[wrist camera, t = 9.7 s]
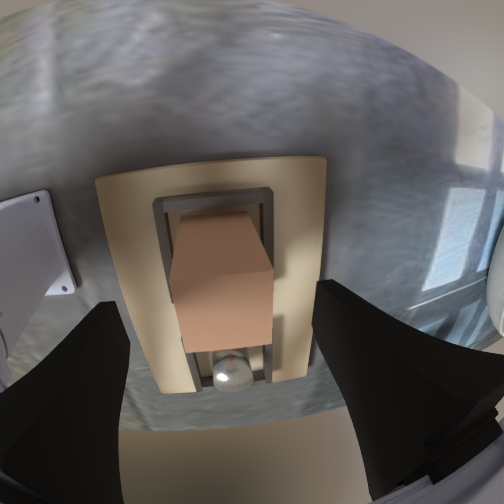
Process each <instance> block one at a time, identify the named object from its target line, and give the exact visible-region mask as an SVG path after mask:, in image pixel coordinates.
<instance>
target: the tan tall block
mask: <svg viewBox="0 0 504 504" xmlns="http://www.w3.org/2000/svg"><path fill="white" fill-rule="evenodd" d="M169 283H170V288H171V293H172V297H173V302H174V307H175V311H176V316H177V320H178V324H179V328H180V333H181V337H182V341H183V345H184V349H185V352H186V353H193V352H205V351H216V350H226V349H235V348H244V347H252V346H259V345H267V344H272V325H273V288H274V269H273V267H272V265H271V263H270V260H269V258H268V256H267V254H266V251H265V249H264V247H263V245H262V242H261V240H260V238H259V236H258V233H257V231H256V229H255V227H254V224H253V222H252V220H251V218H250V215H249V213H248V211H238V212H226V213H214V214H203V215H192V216H182V217H181V218H180V223H179V228H178V233H177V238H176V243H175V248H174V254H173V259H172V265H171V271H170V277H169Z"/></svg>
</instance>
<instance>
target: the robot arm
mask: <svg viewBox="0 0 504 504" xmlns="http://www.w3.org/2000/svg"><path fill="white" fill-rule="evenodd" d="M37 196H38V197H39V199H40V201H37ZM64 286H65V287H66V288H67V289H66V288H64ZM76 289H77V286H76V283H75V280H74V278H73V275H72V272H71V269H70V266H69V263H68V260H67V257H66V254H65V251H64V248H63V244H62V241H61V237H60V234H59V230H58V227H57V223H56V219H55V215H54V211H53V207H52V203H51V198H50V195H49V193H48V191H46V190H41V191H37V192H33V193H29V194H26V195H22V196H19V197H15V198H12V199H9V200H5V201H2V202H0V504H124V501H123V496H122V490H121V482H120V472H119V454H118V430H119V418H120V411H121V406H122V400H123V394H124V389H125V384H126V378H127V373H128V368H129V357H130V340H129V338H128V335H127V333H126V330H125V327H124V325H123V322H122V319H121V317H120V314H119V311H118V308H117V305H116V302H115V301H108V302H100V303H98V304H97V305H96V306H95V307H94V308H93V309H92V310H91V311H90V312H89V313H88V314H87V315H86V316H85V317H84V318H83V319H82V321H81V322H80V323H79V324H78V325H77V326H76V327H75V328H74V329H73V330H72V331H71V332H70V333H69V334H68V335H67V336H66V337H65V338H64V339H63V340H62V341H61V342H60V343H59V344H58V345H57V346H56V347H55V348H54V349H53V350H52V351H51V352H50V353H49V355H47V356H46V357H45V358H44V359H43V360H42V361H41V362H40V363H39V364H38V365H37V366H35V367H34V368H33V369H32V370H31V371H30V372H28V373H27V374H26V375H25V376H23V377H22V378H21V379H19V380H18V381H17V382H15V383H14V384H12V385H11V386H10V387H7V386H6V385H7V383H8V380H9V378H10V376H11V374H12V371H11V369H10V368H9V366H8V364H7V359H8V357H9V355H10V353H11V351H12V349H13V347H14V345H15V344H16V342H17V340H18V338H19V336H20V335H21V333H22V331H23V329H24V328H25V326H26V324H27V323H28V321H29V319H30V318H31V316H32V314H33V313H34V311H35V310H36V308H37V306H38V305H39V303H40V302H41V300H42V299H43V297H44V296H45V295H59V294H72V293H74V292H75V291H76ZM311 325H312V328H313V331H314V334H315V337H316V340H317V343H318V346H319V348H320V350H321V352H322V354H323V357H324V359H325V361H326V363H327V365H328V367H329V369H330V371H331V373H332V375H333V377H334V379H335V381H336V383H337V385H338V387H339V389H340V391H341V393H342V395H343V397H344V400H345V402H346V405H347V408H348V411H349V414H350V417H351V419H352V422H353V426H354V428H355V432H356V435H357V439H358V442H359V446H360V450H361V454H362V458H363V462H364V467H365V472H366V477H367V482H368V487H369V494H370V496H371V498H372V501H373V502H371V503H368V504H504V418H503V419H502V420H501V421H500V422H497V421H496V419H495V417H496V416H497V415H498V411H497V410H496V408H495V406H496V405H497V403H498V402H499V401H500V400H501V399H502V398H503V396H504V355H502V354H495V353H489V352H483V351H478V350H474V349H470V348H466V347H462V346H459V345H456V344H452V343H449V342H447V341H444V340H441V339H438V338H436V337H433V336H431V335H428V334H426V333H424V332H421V331H419V330H417V329H415V328H413V327H411V326H409V325H407V324H405V323H403V322H401V321H399V320H397V319H396V318H394V317H392V316H390V315H388V314H387V313H385V312H383V311H382V310H380V309H378V308H377V307H375V306H374V305H372V304H370V303H369V302H367V301H366V300H364V299H363V298H361V297H360V296H358V295H357V294H355V293H354V292H352V291H350V290H349V289H347V288H346V287H344V286H343V285H341V284H340V283H338V282H336V281H334V280H333V279H330V280H322V281H317V282H316V291H315V299H314V307H313V315H312V322H311Z"/></svg>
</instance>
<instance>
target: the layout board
mask: <svg viewBox="0 0 504 504" xmlns="http://www.w3.org/2000/svg"><path fill="white" fill-rule="evenodd" d="M326 172H327V158H325V157H322V156H279V157H256V158H240V159H226V160H214V161H203V162H194V163H185V164H176V165H168V166H161V167H154V168H147V169H140V170H134V171H128V172H122V173H116V174H110V175H105V176H100V177H99V178H97V179H96V180H95V185H96V191H97V196H98V201H99V206H100V211H101V215H102V220H103V224H104V229H105V233H106V237H107V241H108V245H109V249H110V253H111V256H112V260H113V264H114V267H115V270H116V274H117V277H118V281H119V284H120V287H121V290H122V293H123V296H124V299H125V302H126V305H127V308H128V311H129V314H130V317H131V320H132V323H133V325H134V328H135V331H136V333H137V336H138V339H139V341H140V344H141V346H142V349H143V351H144V354H145V356H146V358H147V361H148V363H149V366H150V368H151V370H152V373H153V375H154V377H155V379H156V381H157V384H158V386H159V388H160V390H161V392H162V393H183V392H200V391H212V390H218V389H217V388H216V387H215V386H214V381H213V370H212V358H211V352H212V351H205V352H193V353H186V352H185V349H184V345H183V341H182V337H181V333H180V328H179V324H178V320H177V316H176V311H175V307H174V302H173V297H172V293H171V288H170V283H169V277H170V271H171V265H172V259H173V254H174V248H175V243H176V238H177V233H178V228H179V223H180V218H181V217H182V216H192V215H203V214H214V213H226V212H238V211H248V213H249V215H250V218H251V220H252V222H253V224H254V227H255V229H256V231H257V233H258V236H259V238H260V240H261V242H262V245H263V247H264V249H265V251H266V254H267V256H268V258H269V260H270V263H271V265H272V267H273V269H274V288H273V325H272V344H267V345H259V346H252V347H246V348H247V351H248V355H249V360H250V365H251V370H252V374H253V379H254V380H253V383H252V385H251V386H253V385H260V384H267V383H272V382H277V381H283V380H288V379H294V378H299V377H304V376H306V373H307V367H308V361H309V354H310V348H311V341H312V334H313V328H312V325H311V322H312V315H313V307H314V299H315V291H316V282H317V281H319V275H320V265H321V254H322V242H323V228H324V213H325V196H326Z"/></svg>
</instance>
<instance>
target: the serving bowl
mask: <svg viewBox="0 0 504 504" xmlns="http://www.w3.org/2000/svg"><path fill="white" fill-rule="evenodd" d="M486 298H487V306H488V311H489V314H490V317H491V320H492V322H493V324H494V325H495V327H496V328H497V330H498V331H499V333H500V334H501V335H502V336H504V226H503V228H502V231H501V233H500V236H499V238H498V241H497V244H496V247H495V250H494V253H493V256H492V260H491V263H490V268H489V272H488V278H487V288H486Z"/></svg>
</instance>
